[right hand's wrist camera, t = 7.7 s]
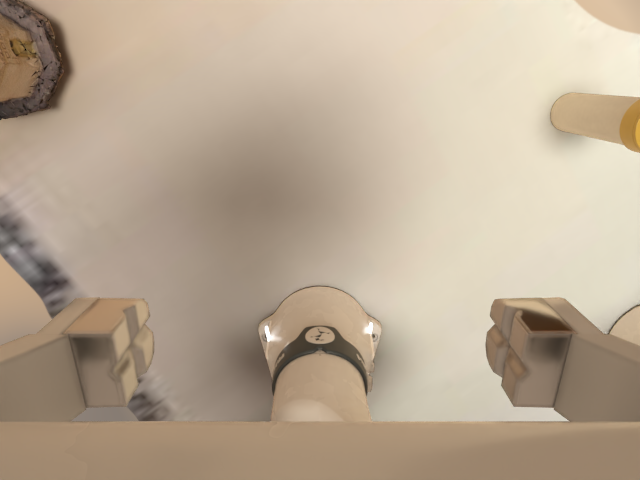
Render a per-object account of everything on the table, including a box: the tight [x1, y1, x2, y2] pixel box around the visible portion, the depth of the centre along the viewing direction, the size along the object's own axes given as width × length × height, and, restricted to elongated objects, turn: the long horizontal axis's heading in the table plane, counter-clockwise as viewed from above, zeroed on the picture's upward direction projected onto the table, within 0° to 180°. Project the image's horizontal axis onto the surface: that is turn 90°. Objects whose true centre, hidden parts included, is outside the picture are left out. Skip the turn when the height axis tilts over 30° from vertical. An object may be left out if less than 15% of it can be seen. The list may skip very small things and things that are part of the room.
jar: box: [550, 93, 640, 145], centre depth 47 cm, size 5×5×16 cm
